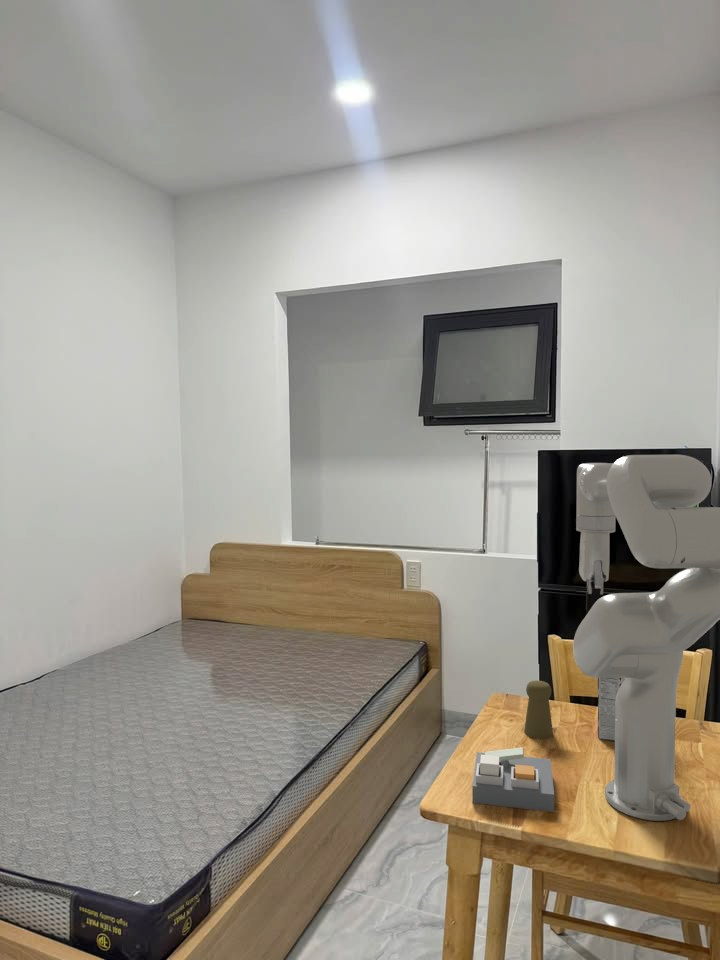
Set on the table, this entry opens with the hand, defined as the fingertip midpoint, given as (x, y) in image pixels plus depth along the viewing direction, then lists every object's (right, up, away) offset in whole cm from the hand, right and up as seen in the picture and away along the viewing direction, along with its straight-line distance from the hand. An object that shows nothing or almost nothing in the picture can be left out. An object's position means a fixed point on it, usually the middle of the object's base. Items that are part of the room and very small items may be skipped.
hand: (594, 612), depth 138 cm
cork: (-10, -27, +6) cm, 30 cm away
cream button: (-25, -24, -19) cm, 40 cm away
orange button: (-19, -25, -20) cm, 38 cm away
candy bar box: (+6, -27, +7) cm, 29 cm away
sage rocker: (-21, -24, -14) cm, 35 cm away
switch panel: (-21, -28, -17) cm, 39 cm away
